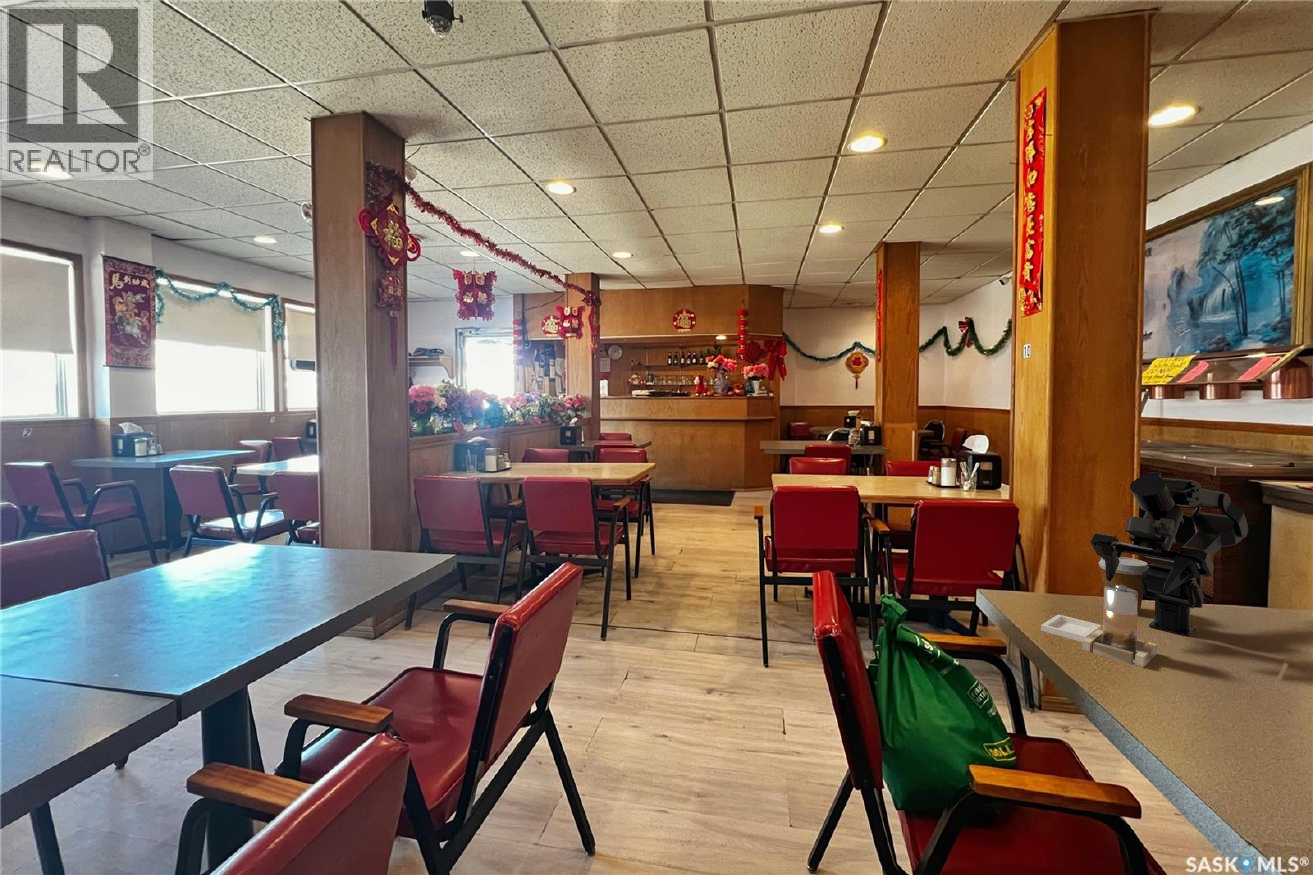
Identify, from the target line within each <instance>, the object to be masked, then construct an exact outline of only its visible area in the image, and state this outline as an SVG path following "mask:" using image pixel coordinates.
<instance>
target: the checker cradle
mask: <svg viewBox="0 0 1313 875" xmlns="http://www.w3.org/2000/svg"><path fill="white" fill-rule="evenodd" d="M1081 644H1082V646H1081V647H1082V648H1081V651H1082V652H1085V653H1089V654H1092V655H1096V656H1100V657H1103V658H1107V659H1110V660H1114V661H1117V662H1120V663H1124V664H1127V665H1131V666H1135V667H1138V668H1141V669H1144V668H1145V667H1146V666H1147V665H1148V664H1149V663H1150V662H1151V661H1152V660H1153V659H1154V658H1155V657H1156V656H1157V654H1158V644H1157V643H1154V642H1150V641H1149V642H1147V643H1146V640H1143V639H1139V638H1137V644H1136V655H1135V657H1134V658H1133V652H1130V651H1127V650H1123V649H1119V648H1115V647H1112V646H1108V645H1104V644H1103V629H1102V630H1099V629H1098V630H1096V631H1095V632H1094V633H1092V634H1091V635H1090V636H1088V637H1087V638H1085V639H1084V640H1083V641H1082V642H1081Z"/></svg>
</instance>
